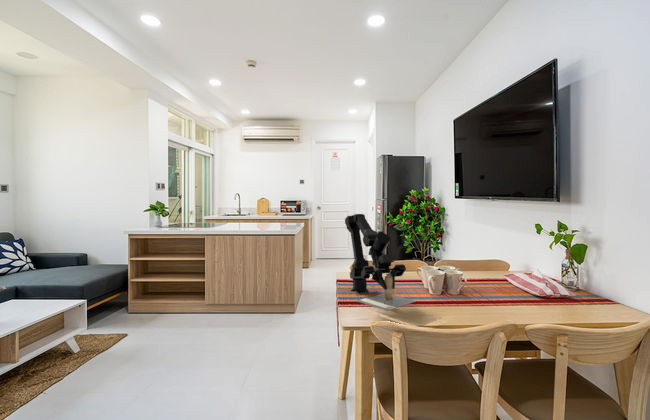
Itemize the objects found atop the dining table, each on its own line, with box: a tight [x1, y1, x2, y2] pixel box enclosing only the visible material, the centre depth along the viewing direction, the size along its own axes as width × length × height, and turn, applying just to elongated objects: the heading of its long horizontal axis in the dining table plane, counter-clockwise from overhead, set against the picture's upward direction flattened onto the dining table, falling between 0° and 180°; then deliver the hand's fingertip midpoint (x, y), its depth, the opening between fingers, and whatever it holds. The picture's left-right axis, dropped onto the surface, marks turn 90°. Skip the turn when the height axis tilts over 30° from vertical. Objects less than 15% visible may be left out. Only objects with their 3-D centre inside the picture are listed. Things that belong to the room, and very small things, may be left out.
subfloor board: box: [356, 292, 417, 312], centre depth 145 cm, size 17×20×1 cm
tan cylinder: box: [383, 273, 394, 305], centre depth 136 cm, size 4×4×12 cm
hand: (389, 289), depth 135 cm, fingers closed on tan cylinder, 3 cm apart
